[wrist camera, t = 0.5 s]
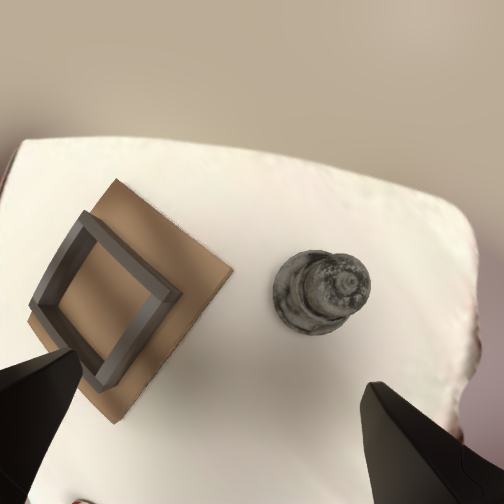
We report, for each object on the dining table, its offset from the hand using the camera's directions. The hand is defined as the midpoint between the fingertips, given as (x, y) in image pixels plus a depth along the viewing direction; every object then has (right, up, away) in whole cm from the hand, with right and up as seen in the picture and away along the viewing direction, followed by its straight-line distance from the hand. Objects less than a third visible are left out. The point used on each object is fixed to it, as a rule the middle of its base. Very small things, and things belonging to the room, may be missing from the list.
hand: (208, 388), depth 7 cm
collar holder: (-11, -1, +15) cm, 19 cm away
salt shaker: (+6, 0, +15) cm, 16 cm away
